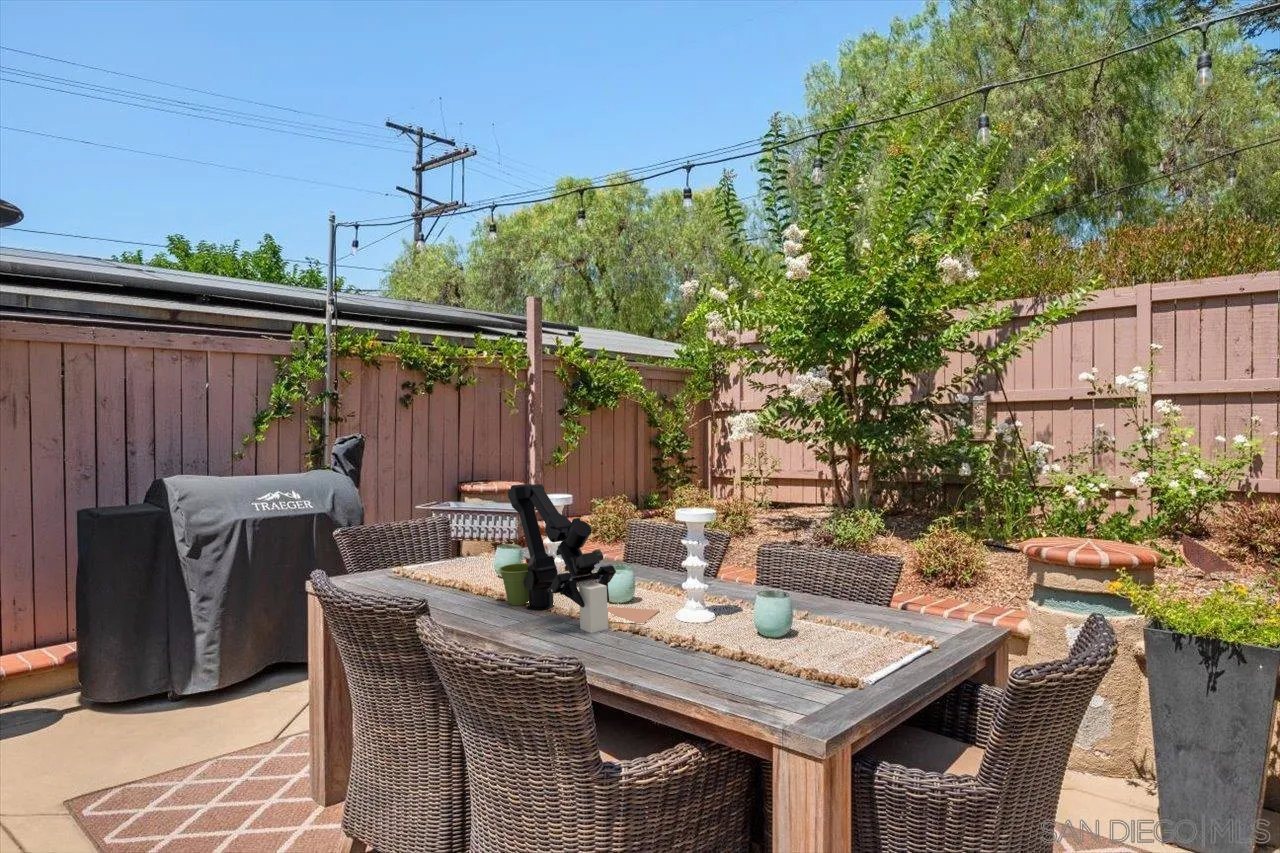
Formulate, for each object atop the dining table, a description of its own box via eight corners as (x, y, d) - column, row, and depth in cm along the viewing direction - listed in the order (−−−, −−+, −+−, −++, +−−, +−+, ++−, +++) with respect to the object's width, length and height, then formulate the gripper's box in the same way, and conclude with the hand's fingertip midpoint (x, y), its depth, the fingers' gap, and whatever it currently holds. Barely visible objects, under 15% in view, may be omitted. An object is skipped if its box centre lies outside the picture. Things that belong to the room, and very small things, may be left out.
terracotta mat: (590, 620, 226) (590, 619, 226) (609, 608, 239) (609, 606, 239) (643, 624, 220) (643, 623, 220) (659, 611, 234) (659, 610, 234)
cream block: (580, 628, 218) (578, 585, 218) (597, 624, 222) (595, 582, 221) (591, 633, 214) (589, 589, 214) (608, 629, 217) (606, 585, 217)
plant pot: (496, 601, 251) (495, 565, 251) (532, 596, 256) (531, 561, 255) (505, 610, 240) (503, 573, 240) (542, 604, 245) (541, 568, 245)
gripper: (554, 545, 215) (577, 593, 206) (611, 536, 226) (635, 581, 217) (541, 569, 221) (562, 616, 213) (597, 559, 232) (619, 604, 224)
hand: (596, 604), depth 217 cm, fingers open, 8 cm apart
